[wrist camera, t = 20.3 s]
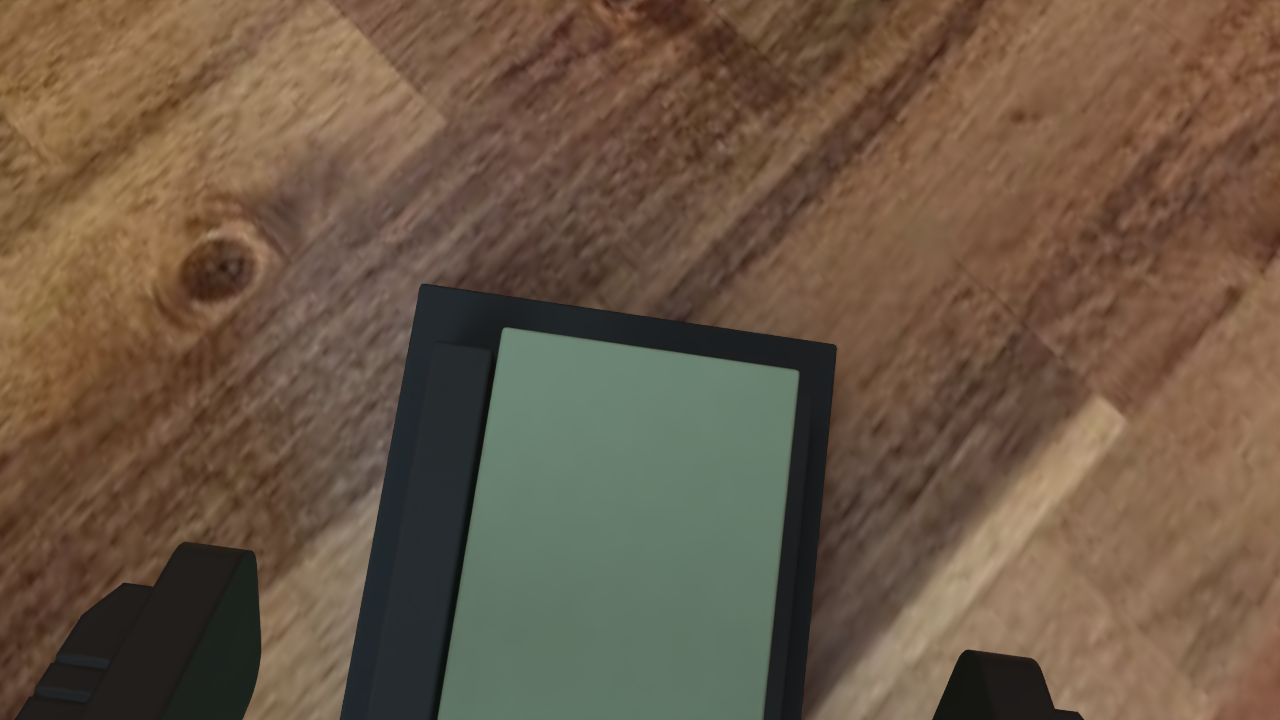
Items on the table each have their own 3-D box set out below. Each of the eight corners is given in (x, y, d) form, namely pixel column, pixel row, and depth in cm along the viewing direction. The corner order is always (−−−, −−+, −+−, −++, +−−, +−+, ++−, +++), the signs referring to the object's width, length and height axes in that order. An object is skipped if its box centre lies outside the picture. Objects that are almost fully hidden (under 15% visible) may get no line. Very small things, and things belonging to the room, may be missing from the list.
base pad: (755, 972, 23) (790, 1037, 20) (319, 918, 23) (277, 973, 19) (817, 363, 26) (856, 327, 22) (430, 306, 25) (410, 260, 22)
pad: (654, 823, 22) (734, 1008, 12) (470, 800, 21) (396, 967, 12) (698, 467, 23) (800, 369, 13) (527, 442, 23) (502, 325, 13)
